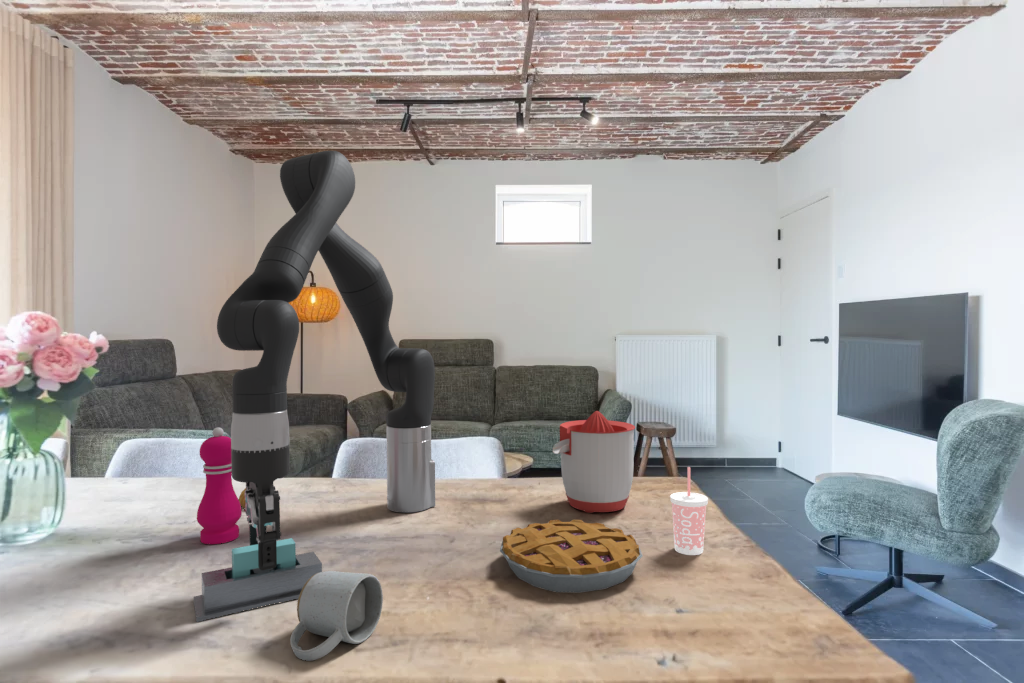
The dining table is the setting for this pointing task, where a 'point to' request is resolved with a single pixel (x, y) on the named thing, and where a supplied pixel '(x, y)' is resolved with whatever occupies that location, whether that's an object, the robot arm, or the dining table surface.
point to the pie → (570, 555)
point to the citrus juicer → (596, 462)
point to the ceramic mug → (337, 610)
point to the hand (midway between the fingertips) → (262, 558)
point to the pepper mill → (218, 492)
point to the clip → (248, 557)
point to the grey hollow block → (253, 587)
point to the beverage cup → (689, 520)
